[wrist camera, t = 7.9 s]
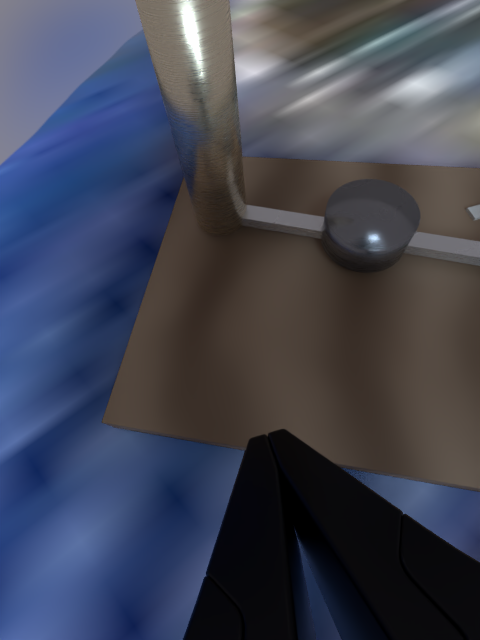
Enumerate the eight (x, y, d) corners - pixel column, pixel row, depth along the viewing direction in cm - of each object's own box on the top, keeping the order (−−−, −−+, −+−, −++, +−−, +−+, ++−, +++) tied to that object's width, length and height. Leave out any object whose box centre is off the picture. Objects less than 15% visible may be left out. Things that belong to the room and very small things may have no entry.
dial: (559, 236, 17) (931, -89, 8) (569, 311, 16) (1070, 12, 6) (209, 184, 21) (155, -82, 11) (184, 240, 19) (95, -18, 10)
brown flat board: (569, 193, 21) (592, 170, 20) (677, 526, 14) (728, 531, 12) (195, 172, 25) (190, 151, 23) (114, 427, 17) (99, 421, 16)
